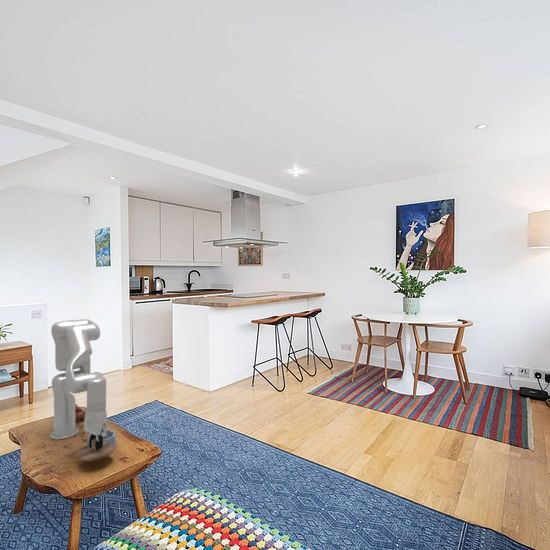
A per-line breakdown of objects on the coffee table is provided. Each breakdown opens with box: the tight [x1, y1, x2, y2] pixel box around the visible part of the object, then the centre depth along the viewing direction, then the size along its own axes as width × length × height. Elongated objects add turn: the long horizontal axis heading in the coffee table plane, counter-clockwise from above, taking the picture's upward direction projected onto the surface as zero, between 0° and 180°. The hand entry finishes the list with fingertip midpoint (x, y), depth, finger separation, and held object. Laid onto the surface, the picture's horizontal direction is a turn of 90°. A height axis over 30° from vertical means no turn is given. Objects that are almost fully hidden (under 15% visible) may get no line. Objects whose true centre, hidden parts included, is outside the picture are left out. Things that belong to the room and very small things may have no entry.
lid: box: [77, 438, 115, 462], centre depth 152 cm, size 14×14×6 cm
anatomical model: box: [75, 403, 87, 423], centre depth 199 cm, size 11×13×15 cm
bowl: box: [86, 429, 117, 448], centre depth 166 cm, size 12×12×6 cm
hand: (96, 446), depth 152 cm, fingers closed on lid, 3 cm apart
